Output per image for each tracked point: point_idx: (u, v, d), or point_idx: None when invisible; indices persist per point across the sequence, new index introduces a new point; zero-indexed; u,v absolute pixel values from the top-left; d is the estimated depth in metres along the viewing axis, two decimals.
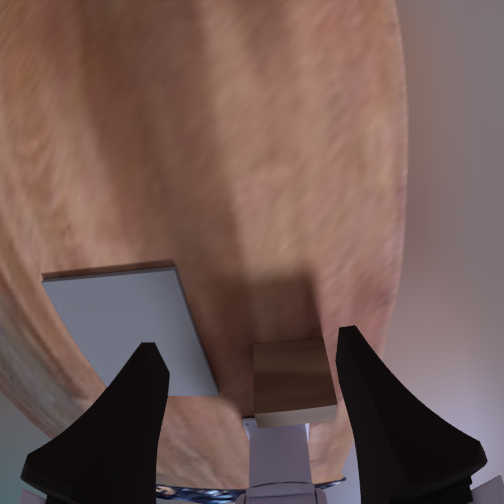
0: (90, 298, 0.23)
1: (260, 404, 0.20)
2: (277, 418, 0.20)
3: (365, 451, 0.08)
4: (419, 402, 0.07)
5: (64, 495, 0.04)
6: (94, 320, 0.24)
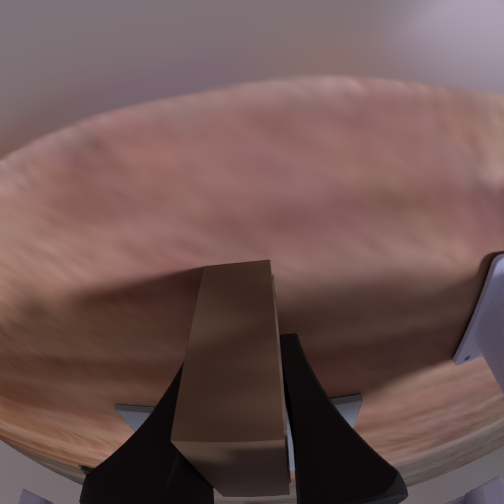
0: None
1: None
2: (244, 487, 0.08)
3: None
4: (342, 420, 0.07)
5: None
6: None
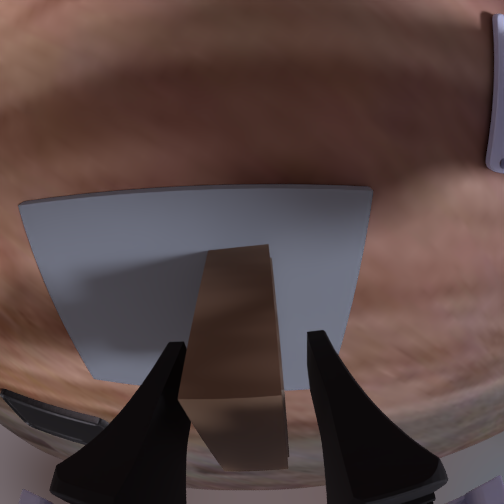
0: (93, 334, 0.16)
1: None
2: (245, 458, 0.09)
3: (328, 458, 0.08)
4: (380, 412, 0.07)
5: None
6: (134, 347, 0.16)
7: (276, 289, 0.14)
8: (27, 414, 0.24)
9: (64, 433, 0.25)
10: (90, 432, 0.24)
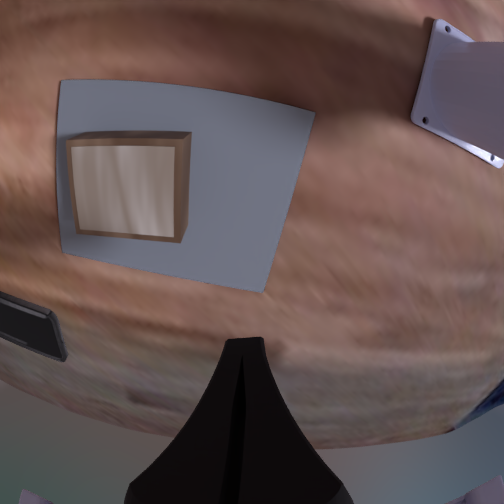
0: None
1: None
2: None
3: None
4: (294, 426, 0.07)
5: None
6: None
7: (234, 173, 0.18)
8: None
9: (12, 333, 0.26)
10: (37, 329, 0.25)
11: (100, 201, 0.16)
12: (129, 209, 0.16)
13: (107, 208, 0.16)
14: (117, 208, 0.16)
